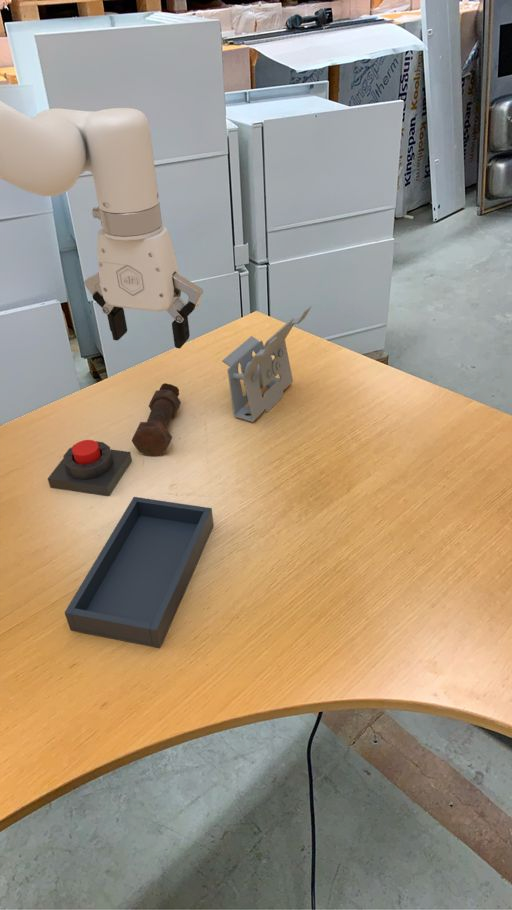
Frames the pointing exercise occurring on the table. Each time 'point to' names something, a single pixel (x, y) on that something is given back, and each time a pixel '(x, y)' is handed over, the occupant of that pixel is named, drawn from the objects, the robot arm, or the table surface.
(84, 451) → the power button
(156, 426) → the bolt
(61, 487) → the station
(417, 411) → the table surface
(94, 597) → the tray
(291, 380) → the bracket
